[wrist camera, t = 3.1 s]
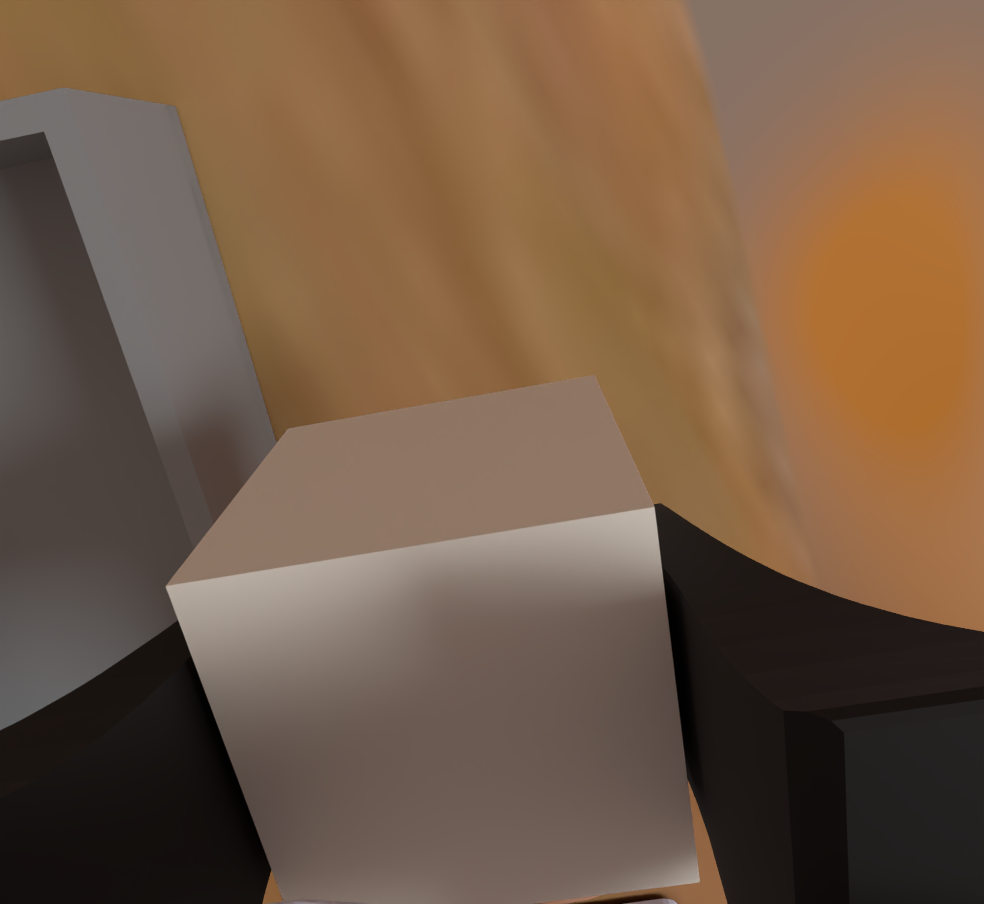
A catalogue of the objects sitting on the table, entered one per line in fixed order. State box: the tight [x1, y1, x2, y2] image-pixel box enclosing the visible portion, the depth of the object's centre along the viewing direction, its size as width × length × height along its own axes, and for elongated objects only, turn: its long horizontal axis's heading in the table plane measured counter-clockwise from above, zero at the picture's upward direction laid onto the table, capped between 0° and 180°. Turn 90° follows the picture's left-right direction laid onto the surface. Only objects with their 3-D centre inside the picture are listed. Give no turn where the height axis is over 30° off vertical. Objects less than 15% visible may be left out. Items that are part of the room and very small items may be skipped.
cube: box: [166, 375, 700, 904], centre depth 11 cm, size 5×5×5 cm
